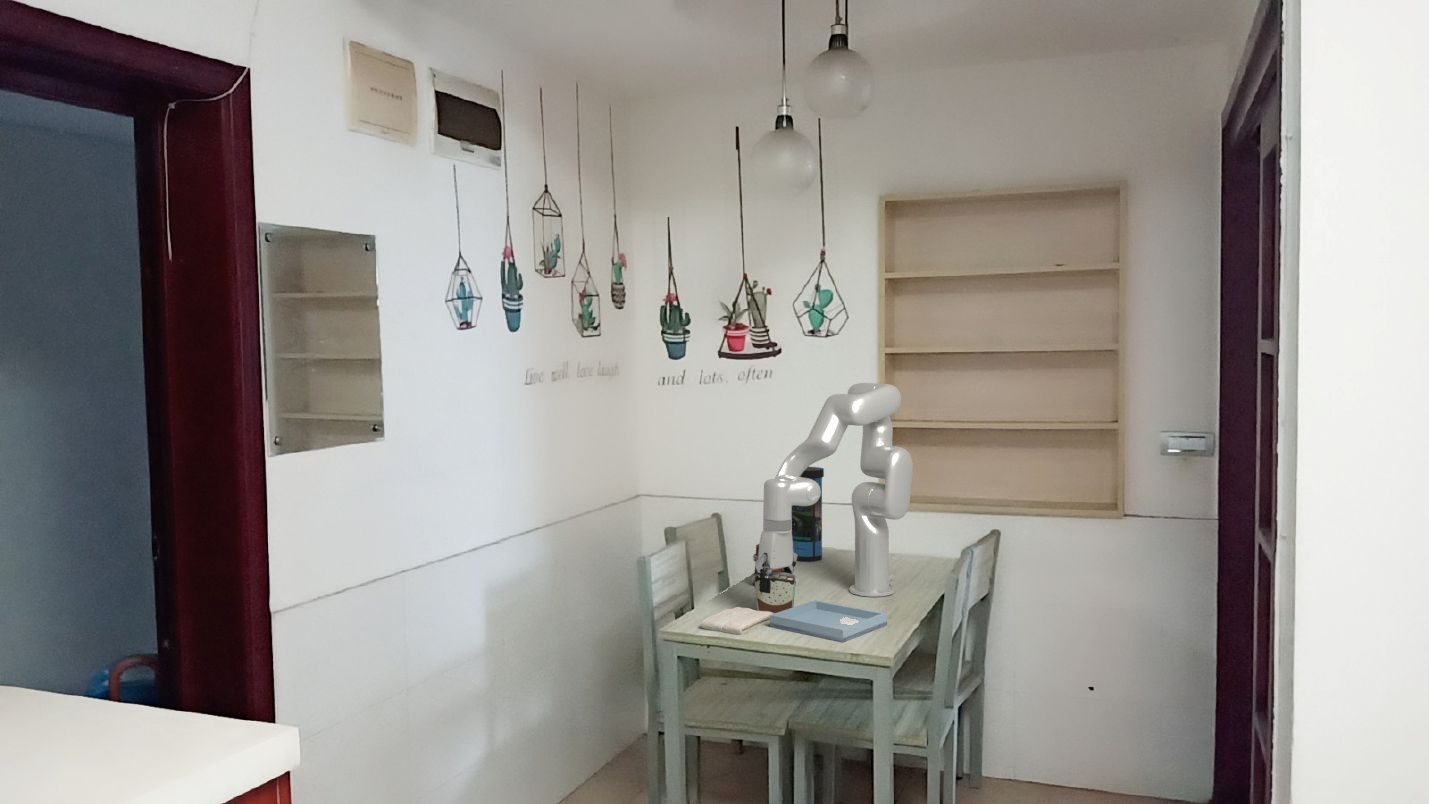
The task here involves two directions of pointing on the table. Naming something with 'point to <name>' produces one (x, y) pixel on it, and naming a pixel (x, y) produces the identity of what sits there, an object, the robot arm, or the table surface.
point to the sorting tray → (828, 620)
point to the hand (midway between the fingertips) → (776, 589)
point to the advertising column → (808, 523)
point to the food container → (776, 592)
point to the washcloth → (736, 620)
